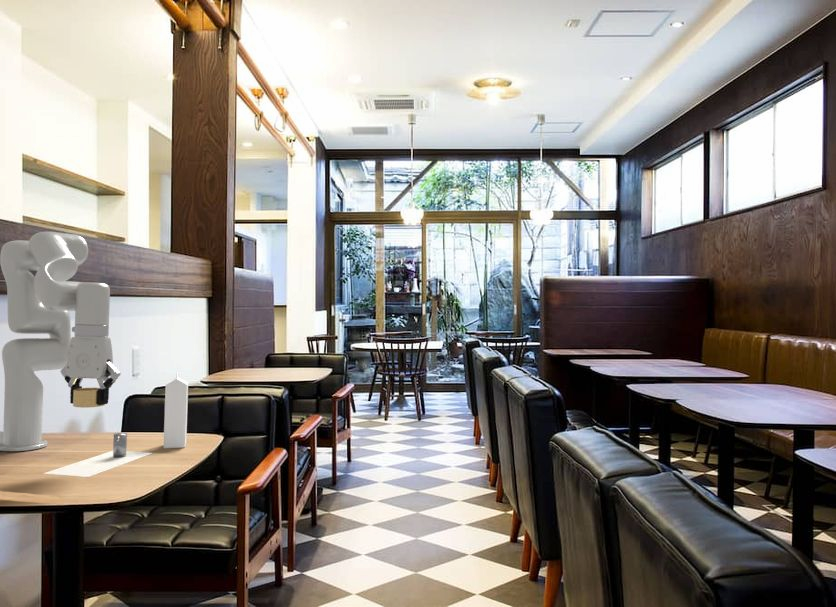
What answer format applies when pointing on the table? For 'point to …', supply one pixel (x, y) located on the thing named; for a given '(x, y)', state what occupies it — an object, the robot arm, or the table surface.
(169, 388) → the milk
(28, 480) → the table surface
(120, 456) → the cylinder
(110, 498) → the table surface
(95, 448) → the table surface
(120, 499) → the table surface
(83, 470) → the board
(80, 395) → the ring
